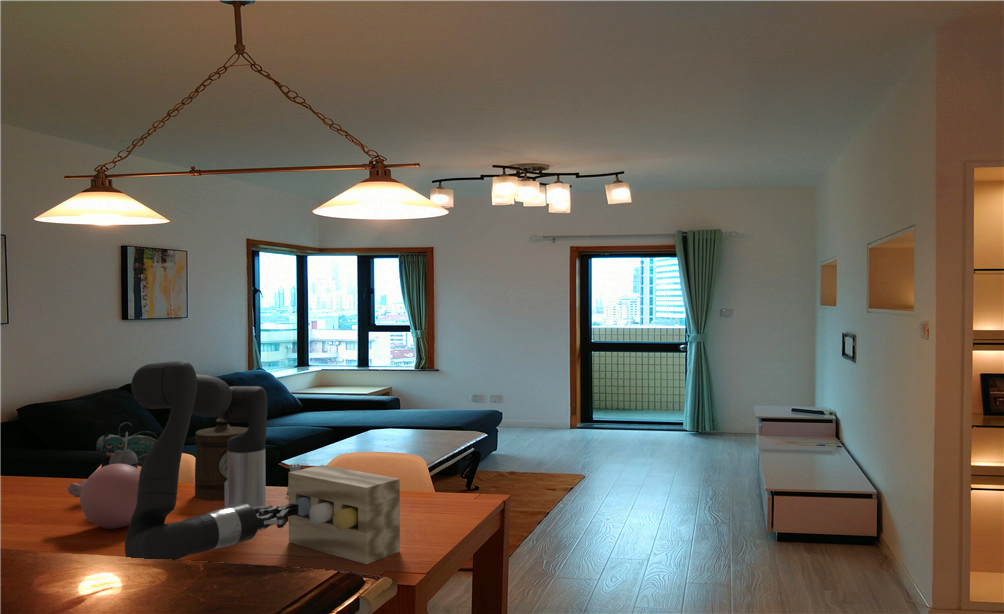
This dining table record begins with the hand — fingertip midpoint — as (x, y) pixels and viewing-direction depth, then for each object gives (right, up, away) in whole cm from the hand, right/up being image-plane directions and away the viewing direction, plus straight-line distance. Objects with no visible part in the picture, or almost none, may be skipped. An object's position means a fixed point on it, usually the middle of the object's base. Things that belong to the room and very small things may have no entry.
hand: (296, 508), depth 175 cm
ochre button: (+13, -2, -8) cm, 15 cm away
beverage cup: (-55, -9, +35) cm, 66 cm away
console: (+10, -9, +1) cm, 14 cm away
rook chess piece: (-14, -9, +52) cm, 54 cm away
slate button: (+2, -2, +3) cm, 5 cm away
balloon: (-50, -9, +17) cm, 54 cm away
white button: (+7, -2, -3) cm, 8 cm away
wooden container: (-34, -9, +50) cm, 61 cm away
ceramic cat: (-63, -9, +56) cm, 84 cm away
